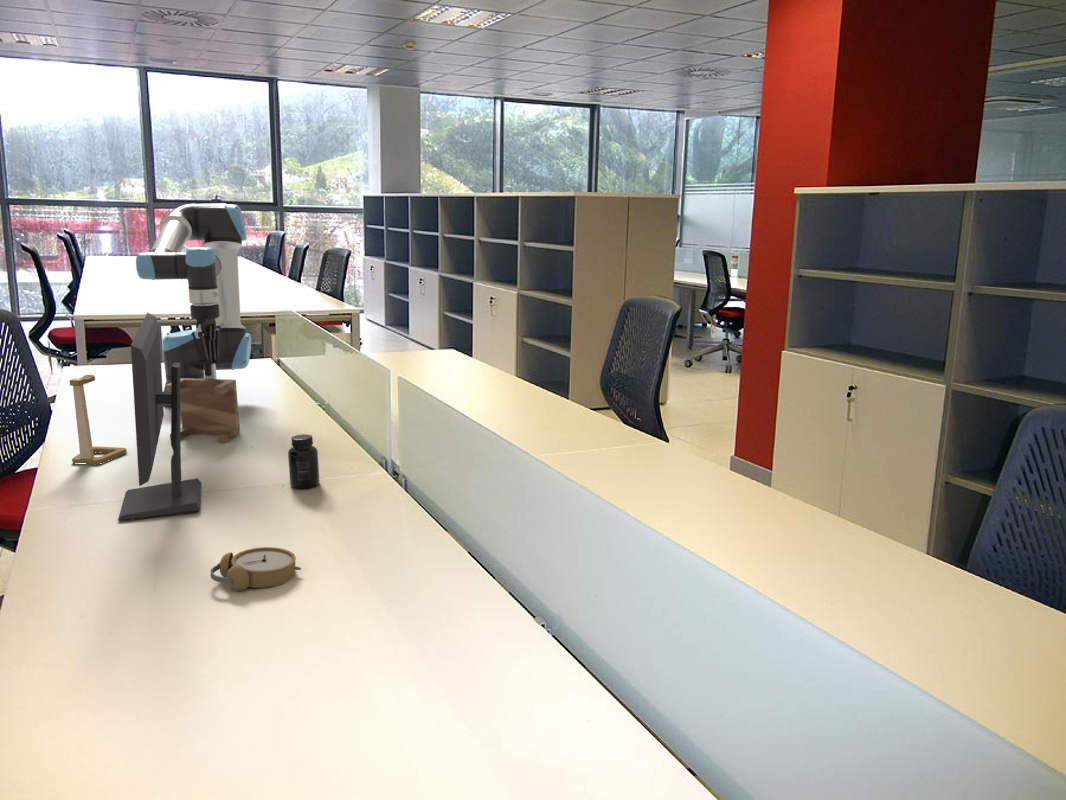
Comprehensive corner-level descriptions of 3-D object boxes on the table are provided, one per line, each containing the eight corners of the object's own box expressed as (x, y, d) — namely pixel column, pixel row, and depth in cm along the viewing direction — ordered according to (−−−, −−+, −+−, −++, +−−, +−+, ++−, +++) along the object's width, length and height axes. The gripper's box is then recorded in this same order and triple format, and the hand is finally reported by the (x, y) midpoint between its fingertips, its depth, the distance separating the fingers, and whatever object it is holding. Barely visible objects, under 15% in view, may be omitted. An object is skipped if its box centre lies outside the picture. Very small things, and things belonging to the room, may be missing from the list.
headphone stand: (129, 452, 220) (119, 371, 214) (104, 465, 209) (93, 381, 204) (91, 450, 221) (81, 370, 215) (65, 464, 210) (53, 379, 205)
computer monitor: (131, 476, 202) (112, 313, 192) (202, 469, 208) (187, 311, 198) (111, 546, 163) (86, 346, 153) (199, 536, 168) (181, 342, 158)
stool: (186, 431, 239) (181, 377, 235) (239, 433, 237) (235, 379, 233) (170, 441, 230) (164, 385, 226) (226, 443, 229) (221, 387, 225)
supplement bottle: (325, 482, 200) (322, 434, 197) (309, 491, 194) (306, 442, 191) (301, 478, 202) (298, 431, 199) (284, 487, 196) (281, 439, 193)
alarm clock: (306, 564, 150) (221, 571, 141) (303, 590, 151) (218, 598, 142) (285, 543, 159) (204, 548, 150) (282, 567, 159) (201, 573, 151)
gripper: (206, 307, 224) (213, 391, 229) (227, 301, 236) (234, 381, 242) (179, 306, 224) (187, 391, 230) (202, 300, 237) (209, 380, 243)
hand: (211, 386), depth 236 cm, fingers closed
